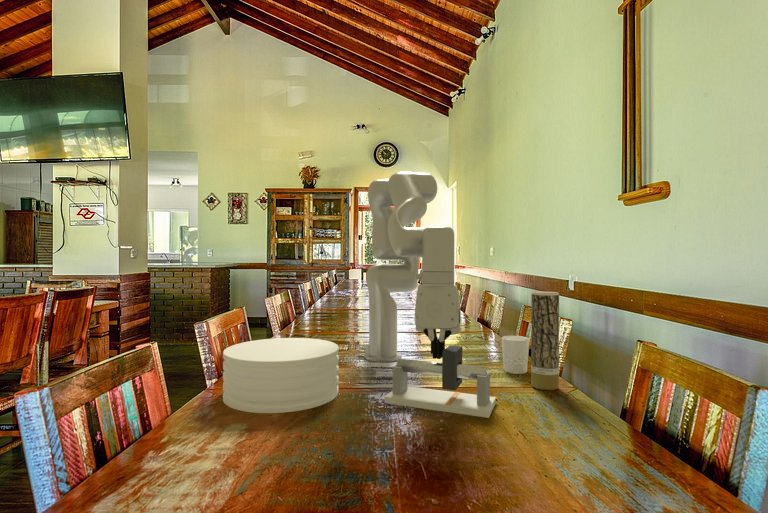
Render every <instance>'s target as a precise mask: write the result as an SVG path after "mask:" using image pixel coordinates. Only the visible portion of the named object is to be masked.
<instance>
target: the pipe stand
mask: <svg viewBox="0 0 768 513" xmlns="http://www.w3.org/2000/svg"><path fill="white" fill-rule="evenodd" d="M408 374H409V372H403V370H402V367H400V366H396V364H395V365H393V366H392V390H391V391H390V392H388V394H386V395H385V396H384V404H388V405H396V406H403V407H408V408H409V407H410V408H418V409H424V410H430V411H438V412H444V413H451V414H460V415H465V416H473V417H481V418H487V419H489V418H490V416H491V414H492V412H493V410H494V408H495V405H496V404H497V398H496V397H497V396H491V390H490V389H491V385H490V384H491V371H489V370H487V373H486V374H485V375H477V380H476V394H475V393H465V392H460V394H459V395H458V396H457V398H456V399H455V400H454V401H453V403H452V404H451V405H450V406H449V405H445V404H446V402H447V401H448V400H449V399H450V398H451V396H452V395H453V394H454V393H455V392H456V391H452V390H444V389H434V388H424V387H417V386H409V385H408V380H409V379H408V378H409V377H408Z"/></svg>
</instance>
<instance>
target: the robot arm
mask: <svg viewBox="0 0 768 513" xmlns="http://www.w3.org/2000/svg"><path fill="white" fill-rule="evenodd" d="M367 190H368V191H367V198H368V205H369V208H370V211H371V217H372V231H371V232H372V233H371V253H372V256H373V258H374V259H376V260H380V261H402V262H403V263H402V264H399V263H397V264H396V263H378V264H374V265H371V266H370V267H369V268H368V269H367V271H366V275H365V277H366V284H367V285H366V286H367V292H368V316H369V317H368V343H367V344H366V343H359V344H358V350H359V351H365V352H364V355H363V356H364V359H365V360H367V361H370V362H371V361H372V362H379V363H381V362H383V363H385V362H388V363H389V362H397V360H398V358H400V359H403V358H402V356H403V355H402V353H401V352H398V306H397V302H396V301H395V299H394V298H393V297H392V295H391V293H405V292H406V293H409V292H413V291H414V290H416V288H417V290H416V296H415V298H416V299H415V307H414V324H415V325H414V326H415V331H417V332H419V333H422V334H424V335H425V336H426V337H427V338H428V339H429V341H430V354H431V355H432V359H438V360H440V359H442V351H443V350H445V349H446V340H447V339H448V338H449V337H450V336H453V335H458V334H460V333H462V329H461V320H462V319H461V304H460V296H459V289H458V285H456V284H455V231H454V229H453V228H452V227H450V226H444V225H440V226H439V225H437V226H435V225H434V226H426V227H414V226H411V227H410V226H408V225H411V224H413V223H416V222H418V221H419V220H421V219H422V218H423V217H424V216H425V214H426V212H427V209H428V204H429V203H431V202H433V201H434V200H435V199H436V196H437V194H438V182H437V180H436V178H435V177H434V176H433V175H432V174H431V173H428V172H427V173H426V172H412V171H399V172H395V173H394V174H392V175H390V177H389V178H381V179H379V178H378V179H375V180H373V181H371V182H370V183H369V186H368V188H367ZM393 207H394V208H395V209H394V208H393ZM406 226H407V227H406ZM420 258H421V272H419V269H420V268H419V264H420ZM418 281H420V283H421V284H419V285H418V283H419V282H418ZM437 330H439V334H437ZM438 336H439V337H438Z"/></svg>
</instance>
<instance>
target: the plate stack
mask: <svg viewBox="0 0 768 513" xmlns="http://www.w3.org/2000/svg"><path fill="white" fill-rule="evenodd" d="M339 351H340V348H339V344H337V343H335V342H333V341H330V340H325V339H319V338H307V337H278V338H277V337H276V338H266V339H265V338H263V339H256V340H250V341H249V340H248V341H244V342H240V343H236V344H233V345H230V346H228V347H227V348H225V349H224V350H223V351H222V359H223V361H222V369H223V372H222V379H223V383H222V392H223V393H222V402H223V403H224V404H225V405H226V406H228V407H229V408H231V409H234V410H236V411H240V412H241V411H242V412H247V413H256V414H280V413H281V414H283V413H292V412H298V411H305V410H308V409H314V408H317V407H319V406H323V405H325V404H328V403H330V402H331V401H333V400H334V399H335V398H337V397H338V395H339V393H340V392H339V383H340V382H339V381H340V380H339V379H340V378H339V373H340V372H339V371H340V370H339V369H340V367H339V363H340V362H339V361H340V358H339V357H340V356H339V353H340V352H339Z"/></svg>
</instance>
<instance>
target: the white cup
mask: <svg viewBox="0 0 768 513" xmlns="http://www.w3.org/2000/svg"><path fill="white" fill-rule="evenodd" d="M529 347H530V338H529V337H526V336H522V335H504V336H502V337H501V354H502V362H503V364H502V368H503V372H505V373H506V374H507V373H508V374H512V375H524V374H527V372H528V362H529V349H530V348H529Z"/></svg>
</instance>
